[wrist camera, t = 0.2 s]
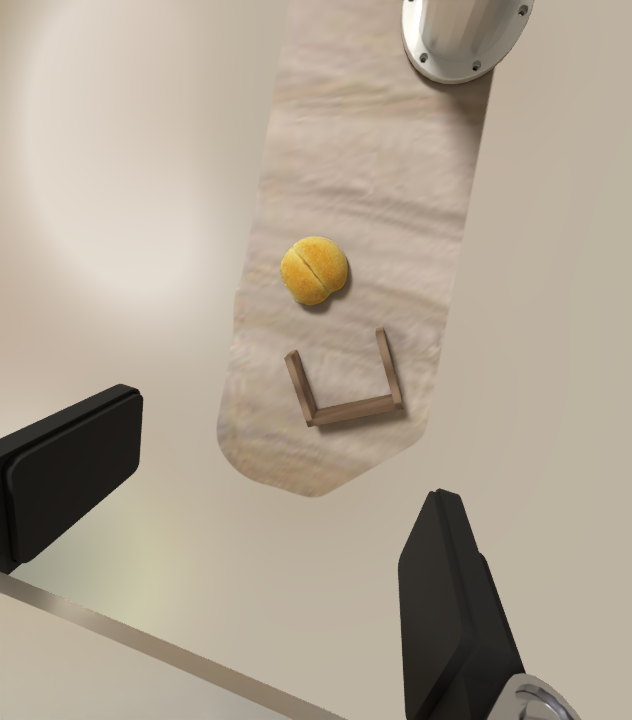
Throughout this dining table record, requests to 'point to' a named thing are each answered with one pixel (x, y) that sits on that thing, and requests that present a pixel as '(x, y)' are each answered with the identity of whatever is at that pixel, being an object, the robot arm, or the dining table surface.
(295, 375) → the brown u-shaped frame
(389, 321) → the dining table surface
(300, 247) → the bread roll
